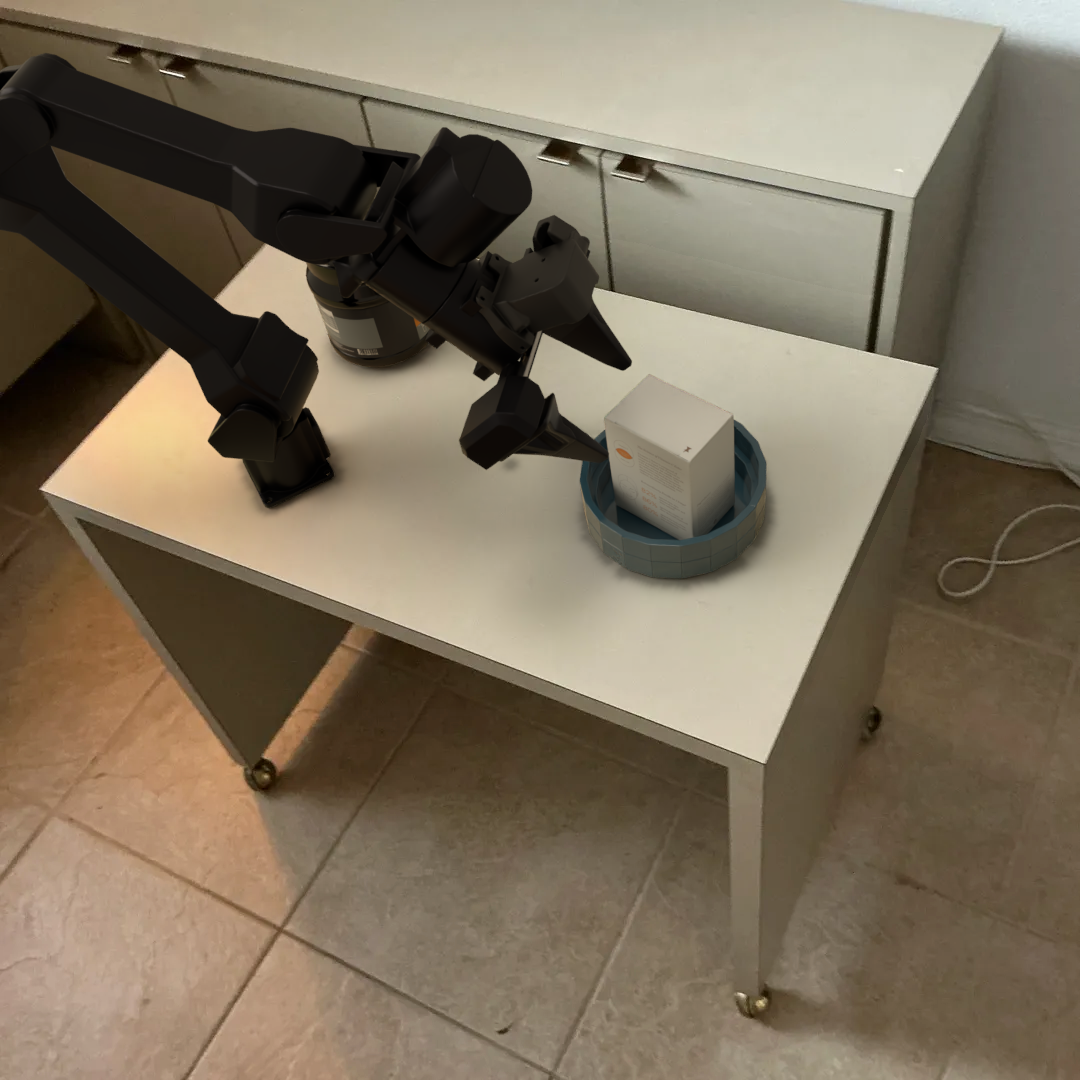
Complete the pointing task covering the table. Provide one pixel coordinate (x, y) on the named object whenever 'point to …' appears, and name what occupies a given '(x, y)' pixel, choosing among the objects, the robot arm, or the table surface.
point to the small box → (671, 458)
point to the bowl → (660, 551)
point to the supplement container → (364, 322)
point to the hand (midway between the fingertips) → (617, 411)
